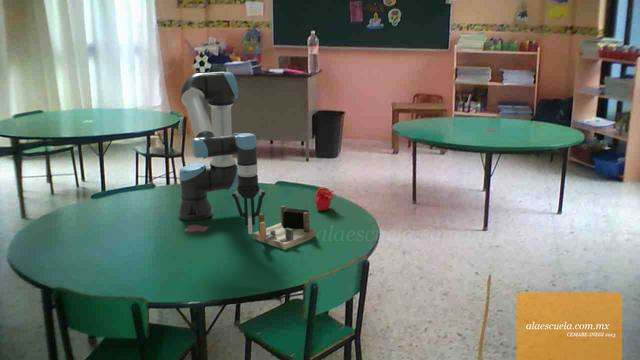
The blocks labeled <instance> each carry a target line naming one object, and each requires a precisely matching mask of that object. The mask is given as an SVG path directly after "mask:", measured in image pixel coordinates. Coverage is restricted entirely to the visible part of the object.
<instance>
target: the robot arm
mask: <svg viewBox="0 0 640 360" xmlns="http://www.w3.org/2000/svg"><path fill="white" fill-rule="evenodd" d="M179 94H180V95H179V96H180V101H181V103H182V105H183V106H185V108H186V109H185V110H186V113H187V115H188V118H189V122H190V125H191V129H192V133H193V136H194V138H193V139H192V140H191V150H192V155H193V156H194V158H195V159H196V158H197V159H198V158H199V159H200V158H204V159H205V158H211V157H212V159H211V160H210V161H209V165H206V164H205V163H203V162H196V163H190V164H187V165H185V166H183V167H182V168H180V169H179V176H178V177H179V178H178V179H179V184H180V185H179V187H180V203H179V208H178V211H177V212H178V213H177V216H178V218H179V219H180V220H184V221H201V220H205V219H208V218H210V217H212V215H213V208H212V206H211V203H210V201H209V198H208V193H210V192H211V193H212V192H219V191H229V190H234V189H236V190H235V191H232V192H231V197H232V198H233V199H234V200H235V204H236V207H237V210H238V213H239V216H240V217H241V218H244V225H245V226H246V227H247V230H248V231H247V232H248V235H253V226H256V225H255V224H256V220H255V219H256V217H258V216H259V214H261V208H262V203H263V199H264V197H265V195H266V191H265V190H263V189H261V187H260V186H259V175H258V154H257V153H258V151H257V149H258V148H257V144H258V142H257V137H256V134H254V133H248V132H244V133H241V132H234V133H233V131H232V129H233V128H232V107H233V105H234V104H235V100H237V99H238V98H239V88H238V82H237V79H236V77H235V75H234V74H233V72H231V71H213V72H212V71H211V72H198V73H197V72H196V73H194V74H191V75H190V76H188V78H186V79H185V81H184V82H183V83H182V85H181V88H180V93H179ZM205 101H207V102H206V103H207V105H208V106H209V107H210V111H211V112H210V115H211V116H210V117H211V120H210V117H209V114H208V111H207V107H206V104H205ZM232 133H233V134H232ZM233 155H236V159H235V158H233ZM236 161H237V162H236ZM257 194H258V200H257V205H256V209H255V197H256V196H257ZM239 195H240V196H241V197H242V198H243V206H244V208H243V209H242V206H241V203H240V200H239V199H240V198H239ZM248 199H250V214H251V215H249V214H248V212H249V210H248V208H249V207H248ZM243 210H244V212H243Z"/></svg>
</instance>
